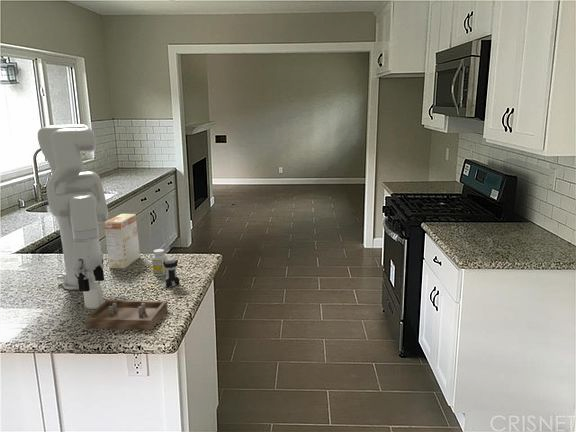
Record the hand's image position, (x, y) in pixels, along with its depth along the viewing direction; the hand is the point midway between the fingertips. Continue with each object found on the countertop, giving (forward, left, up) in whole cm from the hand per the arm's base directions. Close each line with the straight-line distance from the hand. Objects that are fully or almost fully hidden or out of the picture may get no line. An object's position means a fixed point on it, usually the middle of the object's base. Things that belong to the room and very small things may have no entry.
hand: (92, 285), depth 155 cm
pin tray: (+14, -7, -8) cm, 18 cm away
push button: (+18, +21, -8) cm, 29 cm away
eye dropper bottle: (-1, +1, -8) cm, 8 cm away
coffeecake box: (-10, +46, -8) cm, 47 cm away
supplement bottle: (+10, +33, -8) cm, 35 cm away
